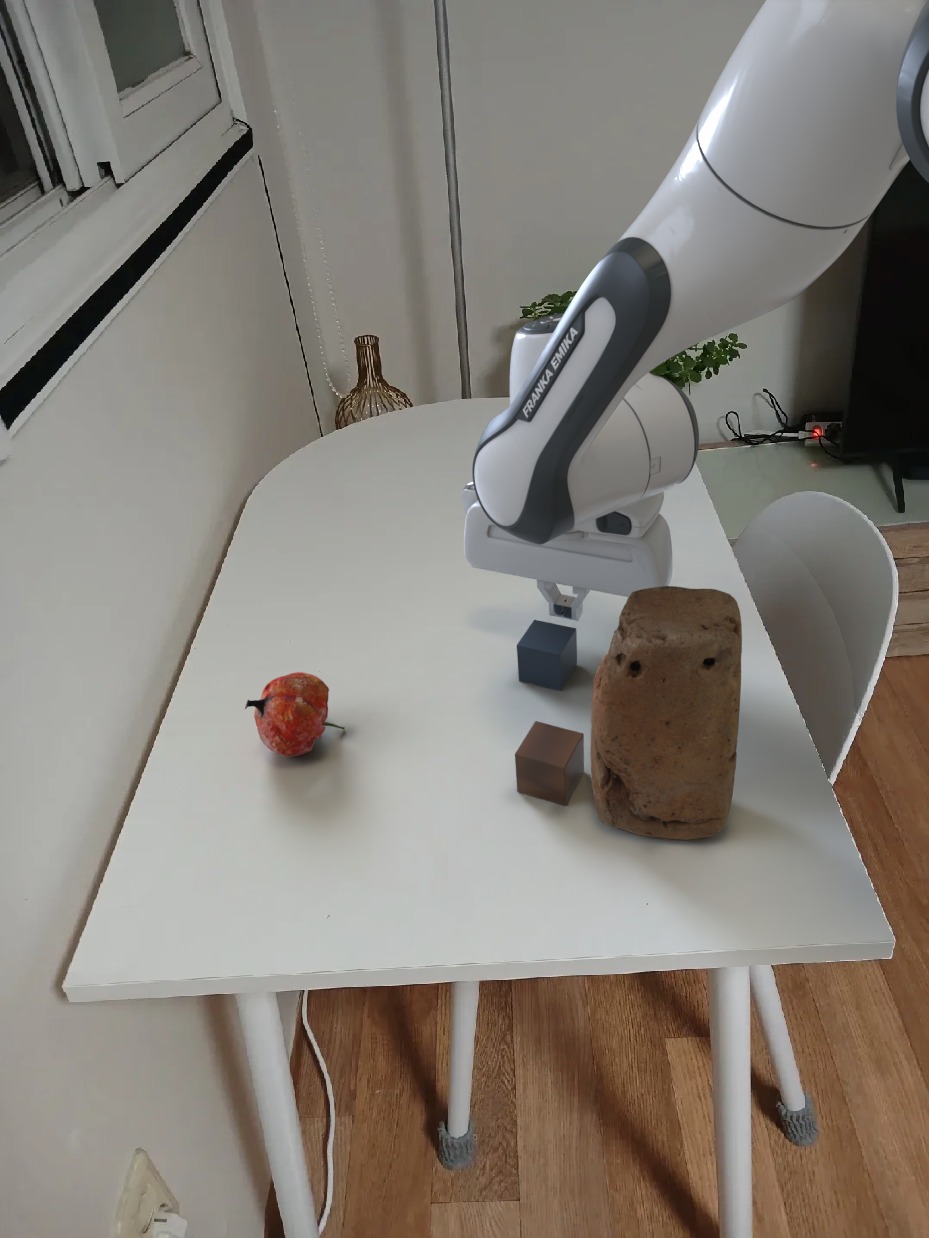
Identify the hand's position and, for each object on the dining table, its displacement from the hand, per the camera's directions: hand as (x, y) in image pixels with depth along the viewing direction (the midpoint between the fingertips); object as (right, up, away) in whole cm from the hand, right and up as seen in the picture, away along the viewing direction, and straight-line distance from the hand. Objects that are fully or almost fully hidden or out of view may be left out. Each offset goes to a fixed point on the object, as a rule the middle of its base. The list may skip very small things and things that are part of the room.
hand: (565, 615), depth 95 cm
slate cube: (-2, -6, -2) cm, 6 cm away
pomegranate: (-25, -12, -7) cm, 28 cm away
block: (+6, -16, -17) cm, 24 cm away
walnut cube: (-3, -14, -14) cm, 20 cm away
